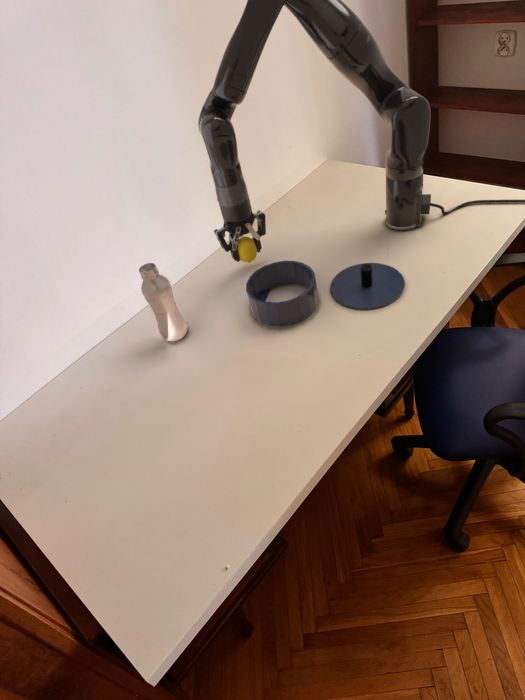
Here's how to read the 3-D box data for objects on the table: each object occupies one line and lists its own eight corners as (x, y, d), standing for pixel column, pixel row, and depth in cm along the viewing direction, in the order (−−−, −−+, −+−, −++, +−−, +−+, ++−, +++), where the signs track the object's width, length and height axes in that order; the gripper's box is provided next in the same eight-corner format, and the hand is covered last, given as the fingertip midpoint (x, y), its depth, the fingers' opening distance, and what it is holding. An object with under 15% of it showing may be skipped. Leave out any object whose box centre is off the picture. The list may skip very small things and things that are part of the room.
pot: (324, 285, 117) (321, 261, 112) (309, 330, 107) (305, 305, 102) (263, 283, 122) (257, 260, 117) (243, 325, 112) (236, 302, 107)
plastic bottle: (160, 333, 116) (129, 266, 102) (186, 322, 117) (158, 255, 103) (166, 348, 112) (134, 281, 98) (193, 337, 113) (165, 269, 99)
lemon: (263, 258, 128) (257, 232, 123) (252, 270, 125) (246, 244, 120) (246, 255, 131) (239, 229, 125) (235, 266, 128) (228, 241, 122)
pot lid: (407, 267, 116) (408, 245, 112) (400, 314, 105) (400, 292, 101) (338, 265, 122) (336, 245, 117) (324, 309, 111) (321, 289, 106)
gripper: (212, 214, 111) (229, 273, 122) (266, 191, 114) (277, 250, 125) (201, 203, 116) (218, 260, 127) (252, 181, 119) (264, 239, 131)
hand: (247, 255), depth 126 cm, fingers closed on lemon, 5 cm apart
